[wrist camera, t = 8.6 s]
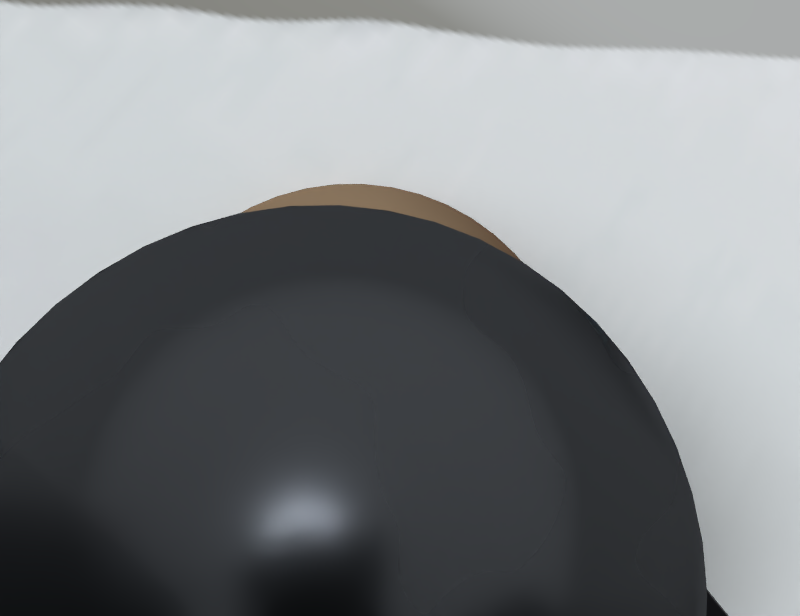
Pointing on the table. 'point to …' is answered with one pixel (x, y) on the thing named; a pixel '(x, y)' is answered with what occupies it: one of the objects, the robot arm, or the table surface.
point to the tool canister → (334, 436)
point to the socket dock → (386, 206)
